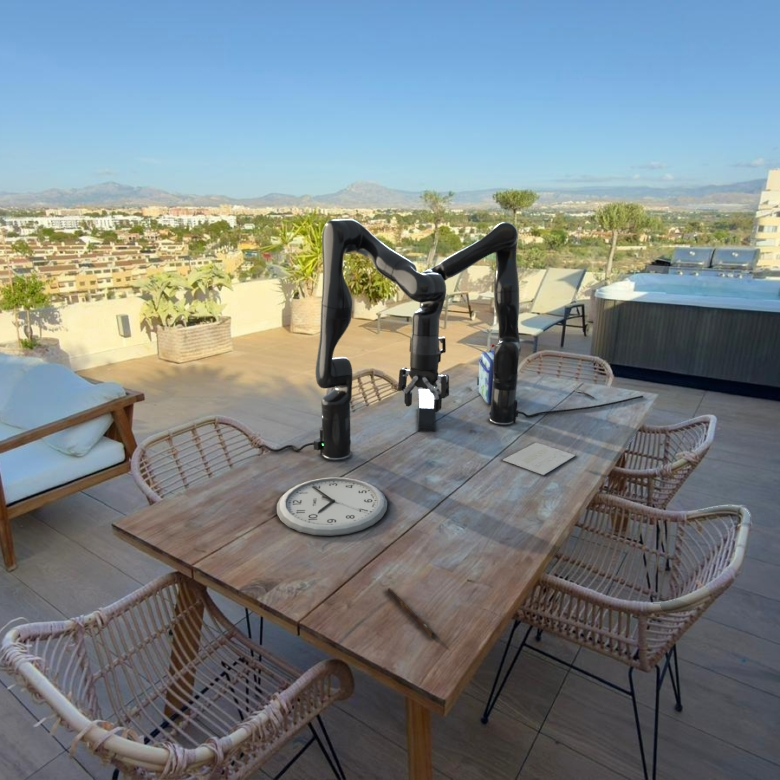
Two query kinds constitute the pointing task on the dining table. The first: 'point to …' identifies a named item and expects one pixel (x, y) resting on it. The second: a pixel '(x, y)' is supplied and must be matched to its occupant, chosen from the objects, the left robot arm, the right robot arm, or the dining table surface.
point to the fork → (581, 391)
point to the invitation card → (539, 458)
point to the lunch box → (486, 376)
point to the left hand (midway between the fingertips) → (422, 408)
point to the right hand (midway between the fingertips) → (427, 362)
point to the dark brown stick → (411, 612)
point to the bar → (426, 411)
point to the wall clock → (331, 506)
